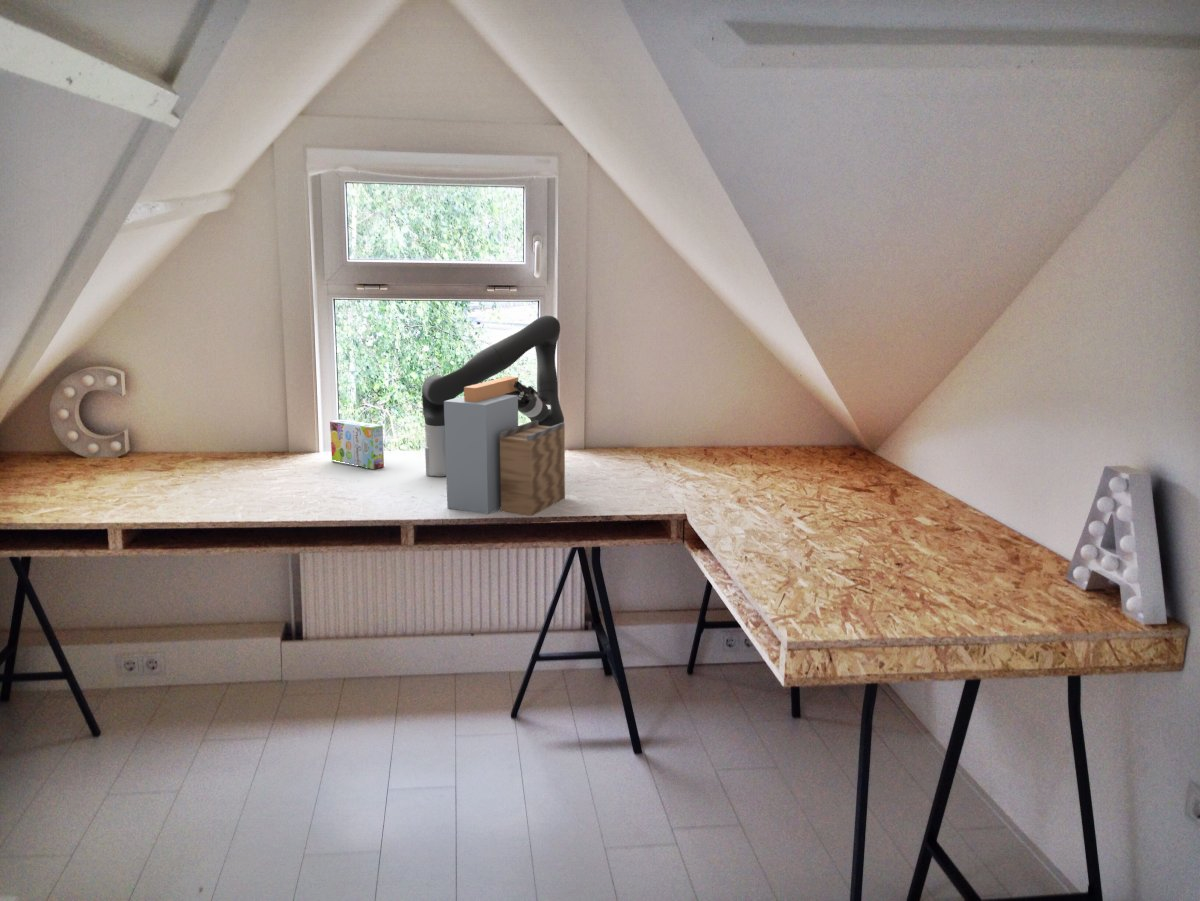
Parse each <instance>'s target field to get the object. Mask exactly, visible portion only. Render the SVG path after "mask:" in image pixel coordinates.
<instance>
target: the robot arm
mask: <svg viewBox="0 0 1200 901" xmlns="http://www.w3.org/2000/svg"><path fill="white" fill-rule="evenodd" d="M560 334H561V324H560V322H559V320H558V318H556V317H555V316H553V315H542V316H539V317H538V318H536V319H535V320H534V321H532V322H530V323H529V324H527V325H526V326H525V327H523V328H522V329H520V330H519V331H517V332H515V333H513V334H511V335H509V336H507V337H506V338H503V339H501V340H499V341H498V342H496V343H494V344H491V345H489V346H488V347H486V348H484V349H483V350H480V351H478V352H477V353H476V354H475V355H473V356H472V357H471V358H470V359H469V360H468V361H467V362H466V363H465V364H463V366H461V367H460V368H458V369H456V370H454V371H452V372H450V373H448V374H446V375H441V374H432V375H429V376H428V377H426V378H425V379H424V381H423V382H422V387H421V400H422V402H421V403H422V412H423V413H422V414H423V419H424V429H425V430H424V431H425V433H424V435H425V448H424V456H425V476H429V477H430V476H431V477H446V450H445V420H444V401H446V400H450V399H454V398H458V397H459V396H460V395H461V394H463V393H464V387H467V386H471V385H475V384H479V383H483V382H485V381H486V380H488V379H489V378H491V379H490V380H489V381H491V380H495V379H494V378H492V377H494V376H496V375H498V374H499V373H501V372H503V371H504V370H507V369H508V368H510V367H511V366H512V365H513V364H514V363H516V362H517V361H518V360H519V359H520V358H521V357H522V356H524V354H525V353H527V352H528V351H530V350H531V349H533V348H534V349H535V353H536V354H535V355H536V364H537V365H536V366H537V368H536V389H535V388H534V387H533V386H531V385H528V386H527V385H526V384H522V383H521V382H520V381H519V380H518V381H515V384H514V388H515V389H517V391H514V392H510V393H507V394H505V395H516V396H518V413H521V414H522V415H524V416H526V418H528V419H530V422H532V421H535V420H538V425H540V426H550V427H551V426H554V425H557V424H560V423H565V417H564V413H563V410H562V408H561V403H560V400H559V387H558V375H557V374H558V373H557V369H556V349H557V343H558V340H559V338H560ZM548 406H550V408H549V407H548Z"/></svg>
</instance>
